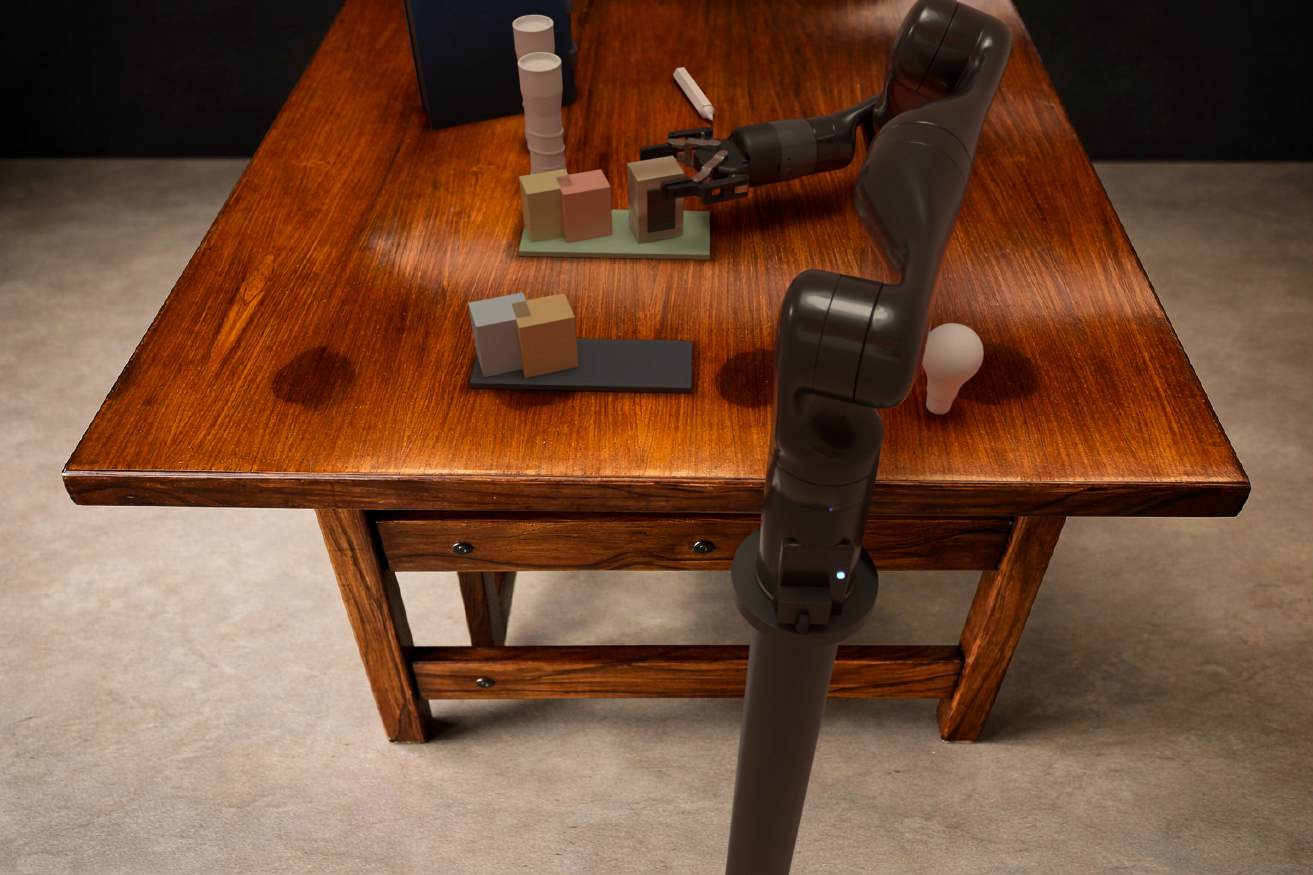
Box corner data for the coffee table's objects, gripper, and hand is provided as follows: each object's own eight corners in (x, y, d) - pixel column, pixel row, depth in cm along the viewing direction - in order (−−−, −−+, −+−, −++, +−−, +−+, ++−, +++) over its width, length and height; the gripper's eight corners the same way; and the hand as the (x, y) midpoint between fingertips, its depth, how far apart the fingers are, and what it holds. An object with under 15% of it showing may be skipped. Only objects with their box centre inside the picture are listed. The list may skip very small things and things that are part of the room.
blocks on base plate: (691, 393, 110) (693, 337, 105) (470, 388, 111) (460, 332, 106) (692, 346, 116) (693, 290, 111) (481, 341, 117) (472, 286, 111)
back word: (709, 260, 128) (711, 205, 123) (518, 256, 129) (512, 202, 123) (709, 216, 135) (711, 163, 130) (528, 213, 136) (523, 160, 130)
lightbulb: (978, 417, 108) (1003, 336, 100) (935, 439, 105) (956, 357, 98) (938, 385, 111) (958, 303, 104) (895, 405, 109) (913, 323, 101)
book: (568, 78, 164) (553, -130, 143) (585, 101, 158) (573, -111, 137) (419, 104, 158) (381, -108, 137) (432, 130, 152) (394, -88, 131)
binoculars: (571, 197, 139) (563, 69, 126) (531, 200, 138) (518, 72, 125) (560, 135, 151) (551, 13, 138) (523, 138, 150) (511, 16, 138)
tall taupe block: (684, 237, 130) (685, 174, 124) (639, 245, 129) (638, 182, 123) (672, 217, 134) (673, 155, 127) (628, 225, 132) (626, 163, 126)
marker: (711, 131, 153) (678, 83, 164) (723, 123, 153) (689, 76, 163) (704, 118, 151) (670, 71, 162) (715, 110, 151) (681, 63, 162)
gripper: (753, 99, 131) (632, 118, 127) (798, 152, 121) (668, 175, 118) (750, 152, 136) (633, 172, 133) (792, 207, 127) (668, 230, 123)
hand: (650, 173), depth 125 cm, fingers open, 8 cm apart
